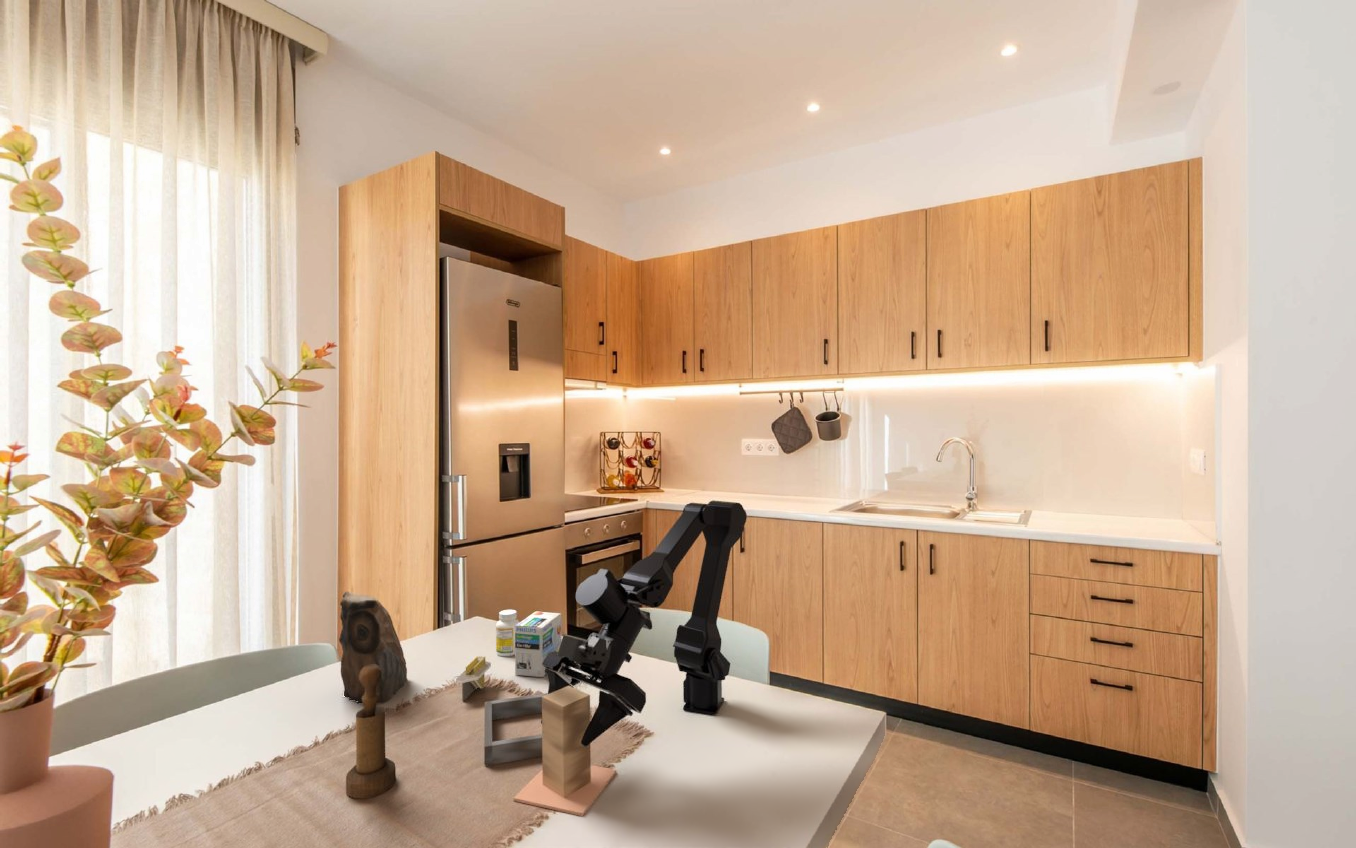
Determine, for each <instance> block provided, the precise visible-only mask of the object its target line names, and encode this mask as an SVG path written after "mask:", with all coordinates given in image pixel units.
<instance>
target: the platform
mask: <svg viewBox="0 0 1356 848" xmlns="http://www.w3.org/2000/svg"><path fill="white" fill-rule="evenodd" d="M491 665H492V663H491V662H489V661H486V656H479V655H478V656H476V657H475V658H474V659H473V660H472V661H470V663H469V664H467V665H466V666H465V670H464V671H463V672H462V673H461V674H459V676H457V677H456V678H455V683H456V684H461V692H462V693H461V694H462V696H461V698H462V699H461V700H462V701H464V700H465V701H466V700H467V699H468V698H469V696H470V695H471V694H472V693H473V692H474V691H475V690H477V688H478V689H481V690H483V689H484V688H485V673H486V672H487V671H488V670H489V669H490V668H491V667H492V666H491ZM475 688H476V689H475ZM482 688H483V689H482ZM474 689H475V690H474ZM473 690H474V691H473ZM472 691H473V692H472ZM470 693H471V694H470ZM469 694H470V695H469ZM468 695H469V696H468ZM462 701H461V702H462Z"/></svg>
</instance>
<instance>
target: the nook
mask: <svg viewBox="0 0 1356 848" xmlns="http://www.w3.org/2000/svg"><path fill="white" fill-rule="evenodd" d="M547 694H548V692H547V693H540V694H532V695H525V696H517V697H511V698H510V697H509V698H502V699H498V700H497V699H496V700H491V701H484V732H483V733H484V734H483V735H484V736H483V737H484V738H483V739H484V744H483V745H484V748H483V749H484V751H483V752H484V755H483V756H484V757H483V758H484V762H483V763H484V767H487V766H491V765H497V764H503V763H510V762H515V761H521V760H527V759H528V760H529V759H533V758H534V759H535V758H537V757H538V758H540V757H542V733H539V734H533V735H526V736H520V737H515V738H508V739H502V740H495V741H493V721H496V719H497V720H502V719H503V718H504V719H510V717H511V718H516V717H521V716H531V715H537V714H542V696H545V695H547Z"/></svg>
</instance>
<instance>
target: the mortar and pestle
mask: <svg viewBox="0 0 1356 848" xmlns="http://www.w3.org/2000/svg"><path fill="white" fill-rule="evenodd" d="M381 675H382V671H381V668H380V667H379V666H378V665H376V664H370V665H366V666H365V667H363V668H362V669H361V671H360V673H359V680H360V682H361V683H362V685H363V686H364V688H365V694H364V695H363V696H362V702H363V708H362V709H360V710H358V711H357V712H356V714H355V731H356V732H355V734H356V735H355V736H356V737H355V738H356V739H355V742H356V744H355V745H356V747H355V748H356V749H355V753H356V754H355V755H356V757H355V758H356V759H355V761H356V763H355V765H353V767H352V768H351V769H349V771H348V772H347V773H346V776H345V794H346V795H347V796H348V797H349V796H350V798H352V797H353V798H352V799H360V800H361V799H369V798H372V797H377V796H378V795H379V796H380V795H381V794H383V793H385V792H387V791H389V790H390V789H391V788H392V787H393V786H394V784H395V783H396V779H397V775H396V774H397V773H396V769H397V768H396V764H395V762H394V761H393V760H391V759H389V758H388V757H386V707H385V706H383V705H378V703H377V702H378V697H379V694H378V693H376V686H377V684H378V682H379V680H380V678H381Z"/></svg>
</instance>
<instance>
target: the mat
mask: <svg viewBox="0 0 1356 848" xmlns="http://www.w3.org/2000/svg"><path fill="white" fill-rule="evenodd" d="M616 774H617V769H613V768H608V767H603V766H597V765H592V764H591V782H590V783H589V784H587V785H585V786H583V787H582V788H580V789H578V790H577V791H575V792H573V793H571V794H570V795H568V796H566V797H565V798H563V797H562V796H560V795H558V794H557V793H555V792H554V791H552V790H551V789H549V788H547V787H546V786H544V785H543V768H542V769H541V770H540V771H539V772H538V773H537V774H536V775H535V776H534V777H533V778H532V779H531V780H530V781H529V782H528V783H527V784H526V785H525V786H524V787H523V788H522V789H521V790H520V791H519V792H518V793H517V794H516V795H515V796H514V797H513V801H514V802H518V803H523V804H526V805H531V806H535V807H539V808H540V807H541V808H545V809H548V810H549V809H550V810H554V811H557V812H560V813H561V812H562V813H567V814H571V815H575V816H581V817H583V816H584V815H585V814H586V812H588V810H589V809H590V807H591V806H592V805H593V803H594V802H595V801H596V800H597V799H598V797H599V795H600V794H601V793H602V792H603V790H604V789H605V788H606V787H607V786H608V784H609V783H610V782H611V781H612V779H613V778H614V777H615V775H616Z"/></svg>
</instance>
